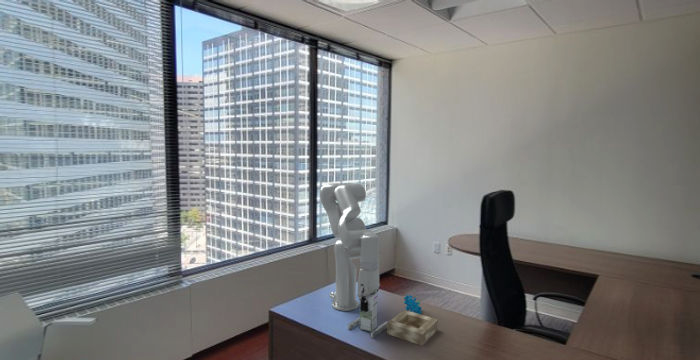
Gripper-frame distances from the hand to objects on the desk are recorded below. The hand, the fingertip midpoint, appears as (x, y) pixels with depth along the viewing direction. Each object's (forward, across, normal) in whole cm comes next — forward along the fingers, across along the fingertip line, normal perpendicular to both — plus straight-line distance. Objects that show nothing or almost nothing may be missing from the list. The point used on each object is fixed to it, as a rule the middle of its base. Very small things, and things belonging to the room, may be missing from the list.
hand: (368, 307), depth 152 cm
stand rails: (+9, 0, 0) cm, 9 cm away
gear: (+9, -24, +9) cm, 27 cm away
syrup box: (+9, 0, 0) cm, 9 cm away
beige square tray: (+9, -8, +16) cm, 20 cm away
